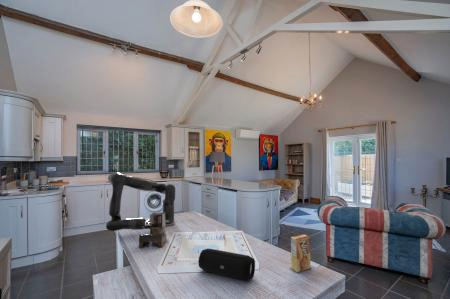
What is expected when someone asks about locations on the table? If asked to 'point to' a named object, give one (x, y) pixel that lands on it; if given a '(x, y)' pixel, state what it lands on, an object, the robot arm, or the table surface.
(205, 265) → the portable speaker
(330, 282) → the table surface
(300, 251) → the candy box
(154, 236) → the bench
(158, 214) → the coffee box
